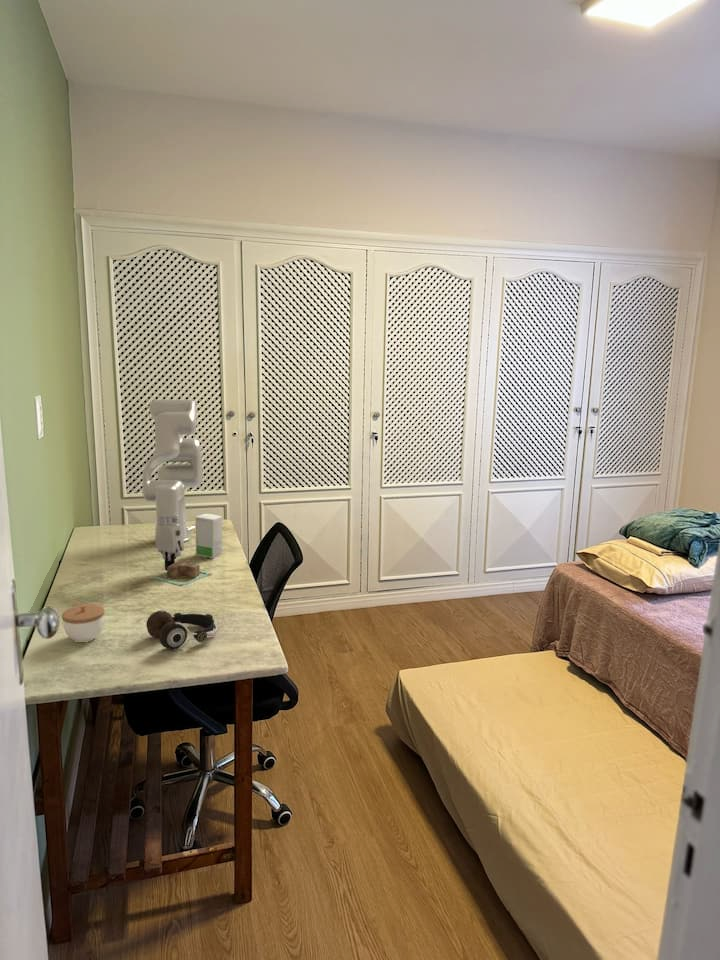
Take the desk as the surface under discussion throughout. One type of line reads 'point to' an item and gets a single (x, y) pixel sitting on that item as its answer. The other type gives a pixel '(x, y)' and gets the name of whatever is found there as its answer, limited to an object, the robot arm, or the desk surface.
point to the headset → (179, 628)
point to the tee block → (183, 569)
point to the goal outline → (183, 583)
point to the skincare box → (208, 535)
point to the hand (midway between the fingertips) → (170, 569)
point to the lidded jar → (83, 622)
